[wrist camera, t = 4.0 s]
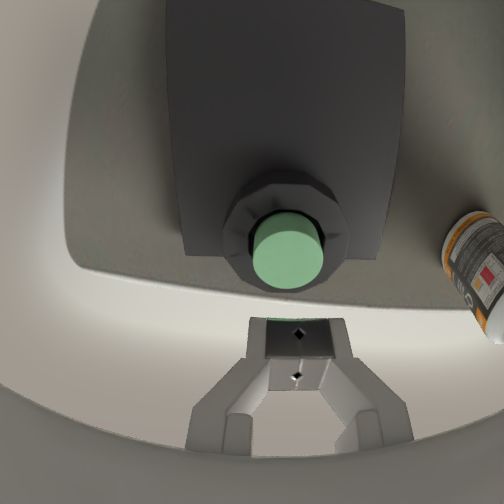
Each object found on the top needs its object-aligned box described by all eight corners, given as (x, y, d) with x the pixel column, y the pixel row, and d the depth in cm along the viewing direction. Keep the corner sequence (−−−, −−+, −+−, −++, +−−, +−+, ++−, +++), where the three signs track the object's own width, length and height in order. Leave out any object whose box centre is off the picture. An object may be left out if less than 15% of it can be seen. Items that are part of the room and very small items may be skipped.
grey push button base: (176, 6, 10) (151, -12, 7) (391, 15, 9) (421, 2, 6) (193, 253, 18) (179, 289, 15) (365, 257, 17) (381, 293, 14)
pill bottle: (425, 266, 17) (487, 380, 9) (461, 196, 14) (558, 295, 6) (471, 279, 18) (527, 373, 10) (504, 220, 15) (581, 305, 6)
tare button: (254, 210, 13) (252, 229, 11) (321, 212, 12) (328, 231, 11) (254, 265, 14) (252, 288, 13) (314, 266, 14) (318, 289, 13)
